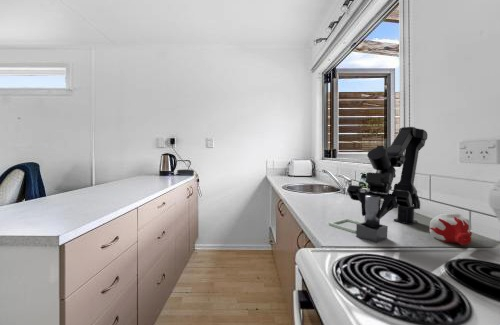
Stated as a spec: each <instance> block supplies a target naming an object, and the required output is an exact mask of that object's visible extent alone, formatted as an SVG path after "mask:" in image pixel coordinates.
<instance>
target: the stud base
mask: <svg viewBox="0 0 500 325" xmlns="http://www.w3.org/2000/svg"><path fill="white" fill-rule="evenodd" d="M354 237H356V238H359V239H361V240H364V241H368V242H371V243H374V244H378V243H381V242H384V241H386V240H388V237H387V239H385V240H382V241H380V242H377V243H375V242H372V241H369V240H366V239H363V238H360V237H357V236H354Z"/></svg>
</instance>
